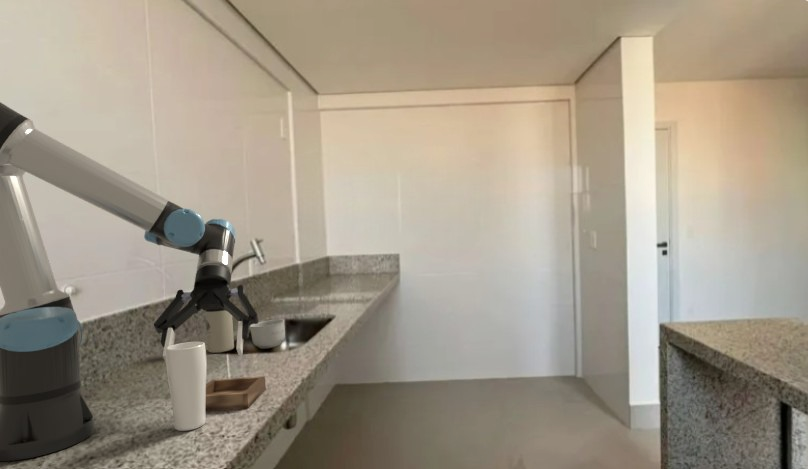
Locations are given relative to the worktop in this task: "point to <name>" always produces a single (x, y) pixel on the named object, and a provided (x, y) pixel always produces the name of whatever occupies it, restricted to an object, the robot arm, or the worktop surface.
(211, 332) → the travel mug
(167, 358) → the white tumbler cup
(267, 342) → the teacup
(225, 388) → the walnut tray
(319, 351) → the worktop surface
